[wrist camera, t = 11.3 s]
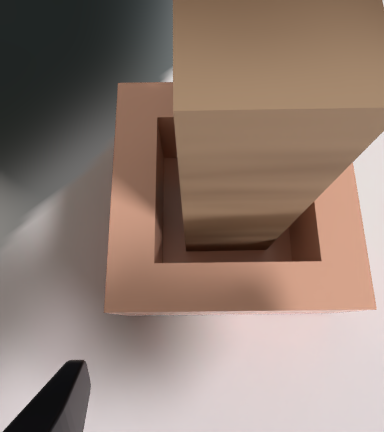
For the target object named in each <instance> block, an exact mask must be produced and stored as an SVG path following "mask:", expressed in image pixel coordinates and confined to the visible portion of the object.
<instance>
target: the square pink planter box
mask: <svg viewBox="0 0 384 432" xmlns="http://www.w3.org/2000/svg"><path fill="white" fill-rule="evenodd" d="M364 310H376V302H375V296H374V290H373V284H372V278H371V272H370V265H369V259H368V253H367V247H366V241H365V235H364V229H363V222H362V216H361V210H360V204H359V198H358V192H357V185H356V179H355V173H354V167H353V162H352V163H351V164H350V165H349V166H348V167H347V169H346V170H345V171H344V172H343V173H342V174H341V175H340V176H339V177H338V178H337V179H336V180H335V181H334V182H333V183H332V184H331V185H330V186H329V187H328V188H327V189H326V190H325V191H324V192H323V193H322V194H321V195H320V196H319V197H318V198H317V199H316V200H315V201H314V202H313V203H312V204H311V205H310V206H309V207H308V208H307V209H306V210H305V211H304V212H303V213H302V214H301V215H300V216H299V217H298V218H297V219H296V220H295V221H294V222H293V223H292V224H291V225H290V226H289V227H288V228H287V229H286V230H285V231H284V232H283V233H282V234H281V235H280V236H279V237H278V238H277V240H276V241H275V242H274V243H273V244H272V245H271V246H270V247H269V248H268V249H267V250H241V251H186V246H185V235H184V224H183V213H182V202H181V191H180V180H179V169H178V158H177V148H176V137H175V126H174V115H173V82H156V83H118V92H117V109H116V125H115V141H114V157H113V174H112V190H111V206H110V222H109V239H108V255H107V271H106V288H105V304H104V313H110V314H118V315H125V316H137V315H223V314H309V313H340V312H352V311H364Z"/></svg>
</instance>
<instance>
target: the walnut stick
mask: <svg viewBox="0 0 384 432" xmlns="http://www.w3.org/2000/svg"><path fill="white" fill-rule="evenodd" d="M173 115H174V126H175V137H176V148H177V158H178V169H179V180H180V191H181V202H182V213H183V224H184V235H185V246H186V251H241V250H267V249H268V248H269V247H270V246H271V245H272V244H273V243H274V242H275V241H276V240H277V238H278V237H279V236H280V235H281V234H282V233H283V232H284V231H285V230H286V229H287V228H288V227H289V226H290V225H291V224H292V223H293V222H294V221H295V220H296V219H297V218H298V217H299V216H300V215H301V214H302V213H303V212H304V211H305V210H306V209H307V208H308V207H309V206H310V205H311V204H312V203H313V202H314V201H315V200H316V199H317V198H318V197H319V196H320V195H321V194H322V193H323V192H324V191H325V190H326V189H327V188H328V187H329V186H330V185H331V184H332V183H333V182H334V181H335V180H336V179H337V178H338V177H339V176H340V175H341V174H342V173H343V172H344V171H345V170H346V169H347V167H348V166H349V165H350V164H351V163H352V162H353V161H354V160H355V159H356V158H357V157H358V156H359V155H360V154H361V153H362V152H363V151H364V150H365V149H366V148H367V147H368V146H369V145H370V144H371V143H372V142H373V141H374V140H375V139H376V138H377V137H378V136H379V135H380V134H381V133H382V132H383V131H384V6H383V2H382V0H173Z"/></svg>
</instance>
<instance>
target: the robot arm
mask: <svg viewBox="0 0 384 432" xmlns="http://www.w3.org/2000/svg"><path fill="white" fill-rule="evenodd" d="M90 388H91V384H90V378H89V373H88V368H87V364H86V362H85V361H84V360H69V361H67V362H66V363H65V364H64V365H63V366H62V367H61V369H60V370H59V371H58V372H57V373H56V374H55V375H54V376H53V377H52V378H51V379H50V381H49V382H48V383H47V384H46V385H45V386H44V387H43V388H42V389H41V390H40V392H39V393H38V394H37V395H36V396H35V397H34V398H33V399H32V400H31V401H30V402H29V404H28V405H27V406H26V407H25V408H24V409H23V410H22V411H21V412H20V413H19V414H18V416H17V417H16V418H15V419H14V420H13V421H12V422H11V423H10V424H9V425H8V426H7V428H6V429H5V430H4V431H3V432H83V429H84V423H85V418H86V412H87V407H88V401H89V395H90Z"/></svg>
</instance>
